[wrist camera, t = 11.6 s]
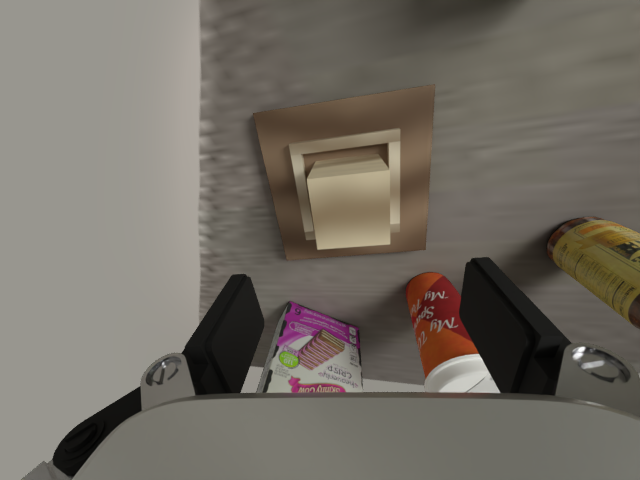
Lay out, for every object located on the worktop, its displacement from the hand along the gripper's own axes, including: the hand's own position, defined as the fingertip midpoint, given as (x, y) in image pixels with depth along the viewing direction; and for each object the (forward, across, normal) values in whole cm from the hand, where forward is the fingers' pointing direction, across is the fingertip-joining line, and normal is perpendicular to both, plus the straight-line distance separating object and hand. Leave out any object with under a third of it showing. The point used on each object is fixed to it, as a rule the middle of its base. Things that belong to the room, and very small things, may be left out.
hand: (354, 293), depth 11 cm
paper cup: (+18, -9, +15) cm, 25 cm away
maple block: (+17, 0, 0) cm, 17 cm away
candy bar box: (+18, +6, +20) cm, 28 cm away
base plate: (+18, 0, 0) cm, 18 cm away
